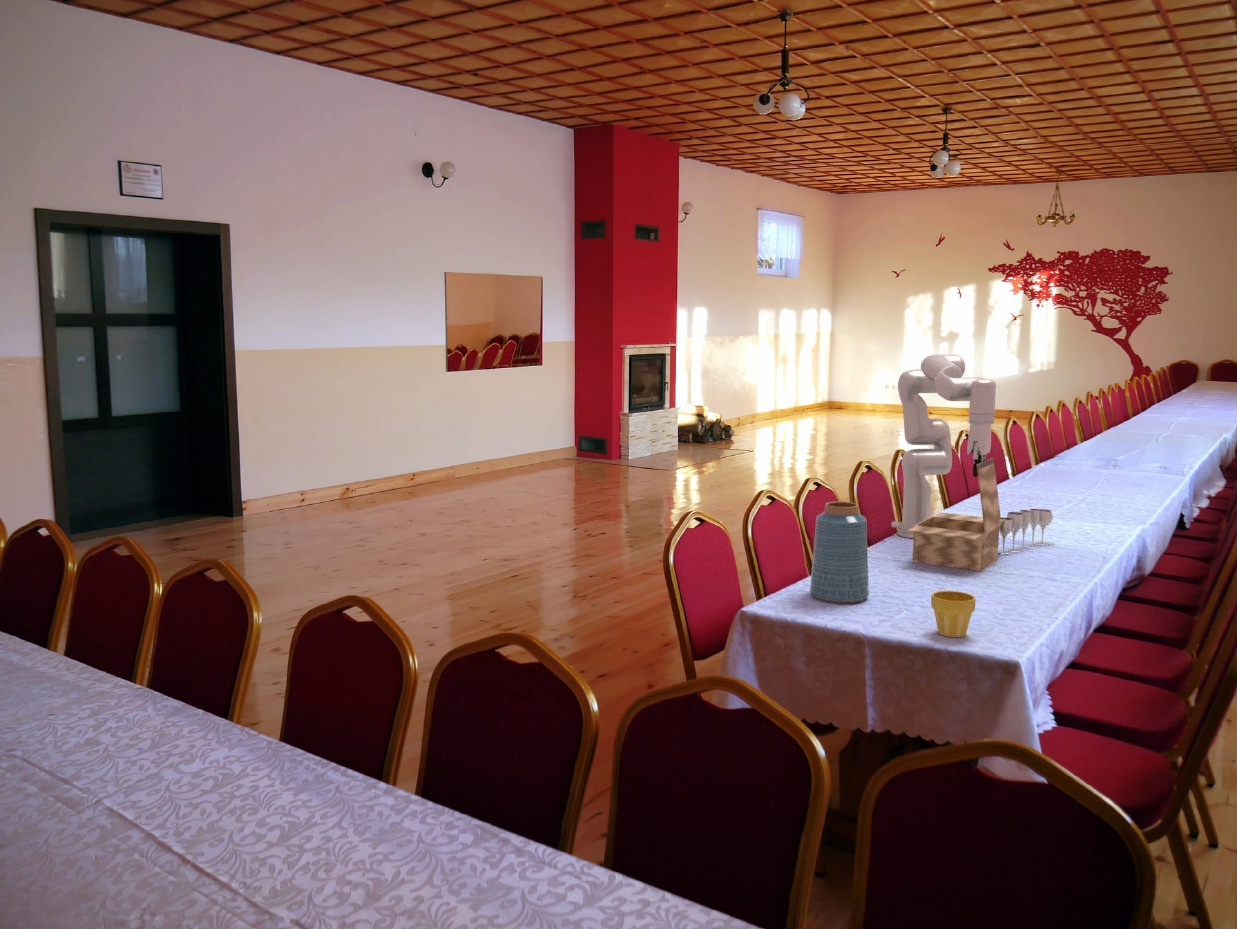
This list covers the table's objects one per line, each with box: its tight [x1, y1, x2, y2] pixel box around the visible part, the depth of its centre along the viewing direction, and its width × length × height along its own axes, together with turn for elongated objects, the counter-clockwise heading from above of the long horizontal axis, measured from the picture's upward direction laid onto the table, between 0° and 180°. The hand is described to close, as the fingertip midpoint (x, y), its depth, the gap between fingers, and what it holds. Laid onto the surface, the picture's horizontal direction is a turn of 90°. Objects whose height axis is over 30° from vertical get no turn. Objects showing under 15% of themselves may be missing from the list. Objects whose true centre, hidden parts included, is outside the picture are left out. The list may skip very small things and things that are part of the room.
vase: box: [809, 500, 870, 605], centre depth 273 cm, size 16×16×27 cm
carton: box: [908, 512, 1004, 572], centre depth 314 cm, size 22×34×12 cm, turn 145°
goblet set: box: [998, 508, 1054, 554], centre depth 330 cm, size 28×6×13 cm, turn 125°
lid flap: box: [976, 457, 1001, 534], centre depth 306 cm, size 22×18×1 cm
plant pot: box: [930, 590, 977, 638], centre depth 242 cm, size 10×10×10 cm
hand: (978, 476), depth 307 cm, fingers closed
